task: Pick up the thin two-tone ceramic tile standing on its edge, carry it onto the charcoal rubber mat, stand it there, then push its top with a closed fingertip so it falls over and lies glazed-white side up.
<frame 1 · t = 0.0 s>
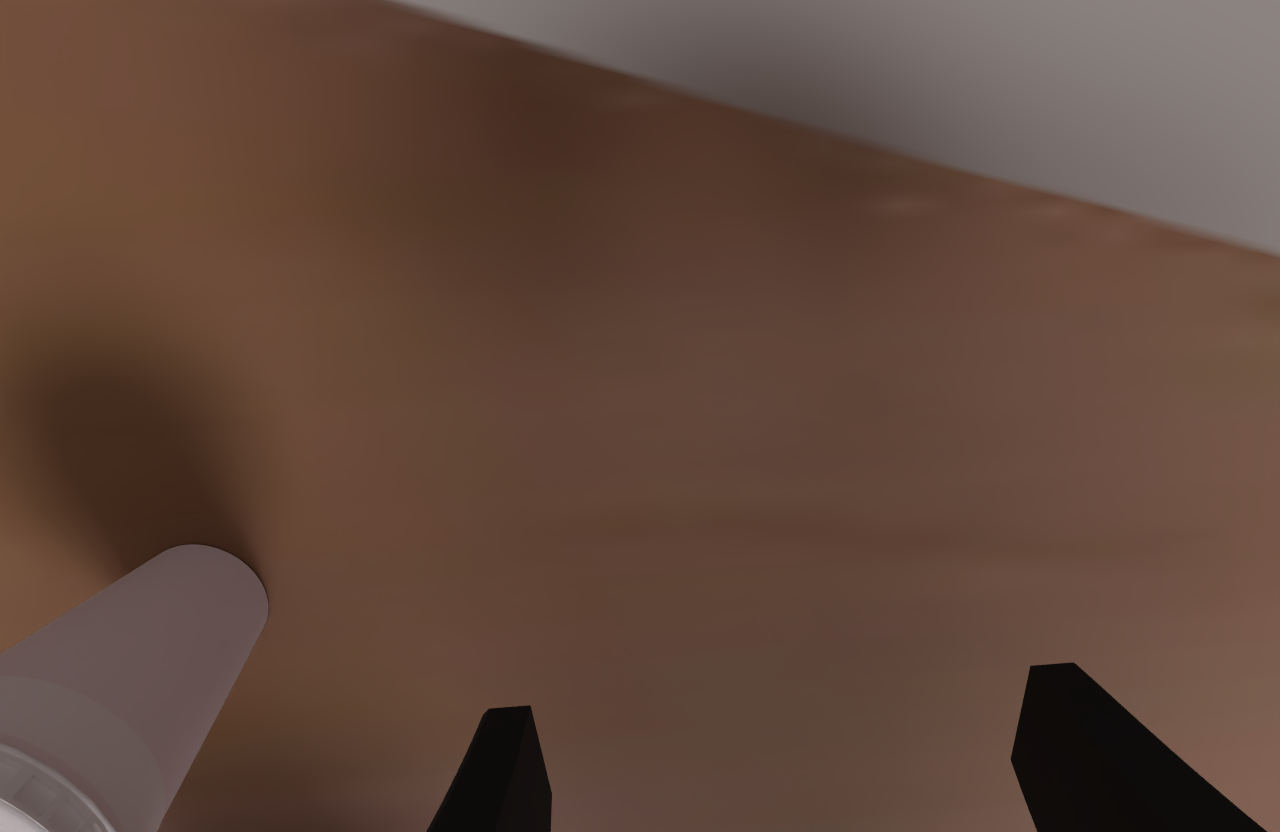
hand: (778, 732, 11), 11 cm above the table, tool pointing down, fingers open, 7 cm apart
smoothie: (208, 596, 23), on the table
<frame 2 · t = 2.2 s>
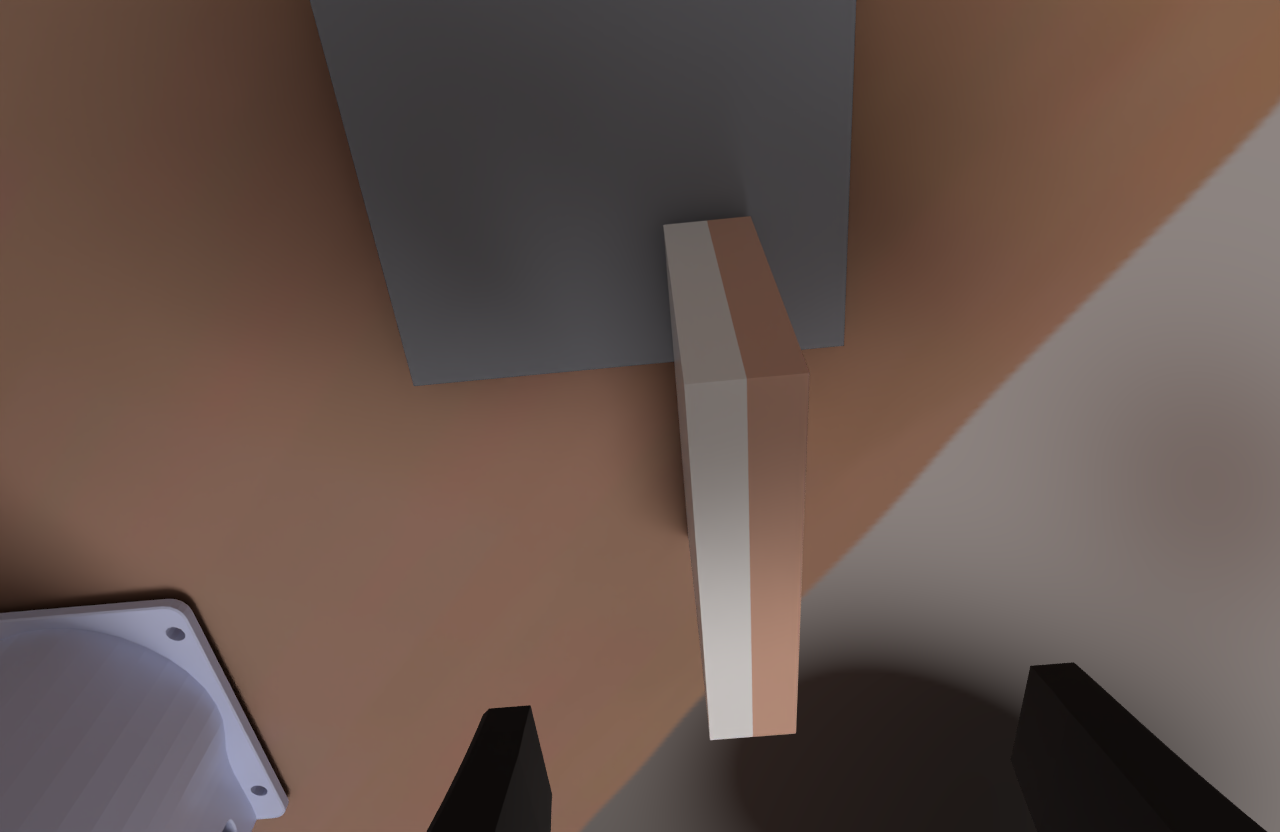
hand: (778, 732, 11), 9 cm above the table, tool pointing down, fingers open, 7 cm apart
tile: (715, 399, 19), on the table, tilted 6°, touching mat
mat: (595, 84, 16), on the table
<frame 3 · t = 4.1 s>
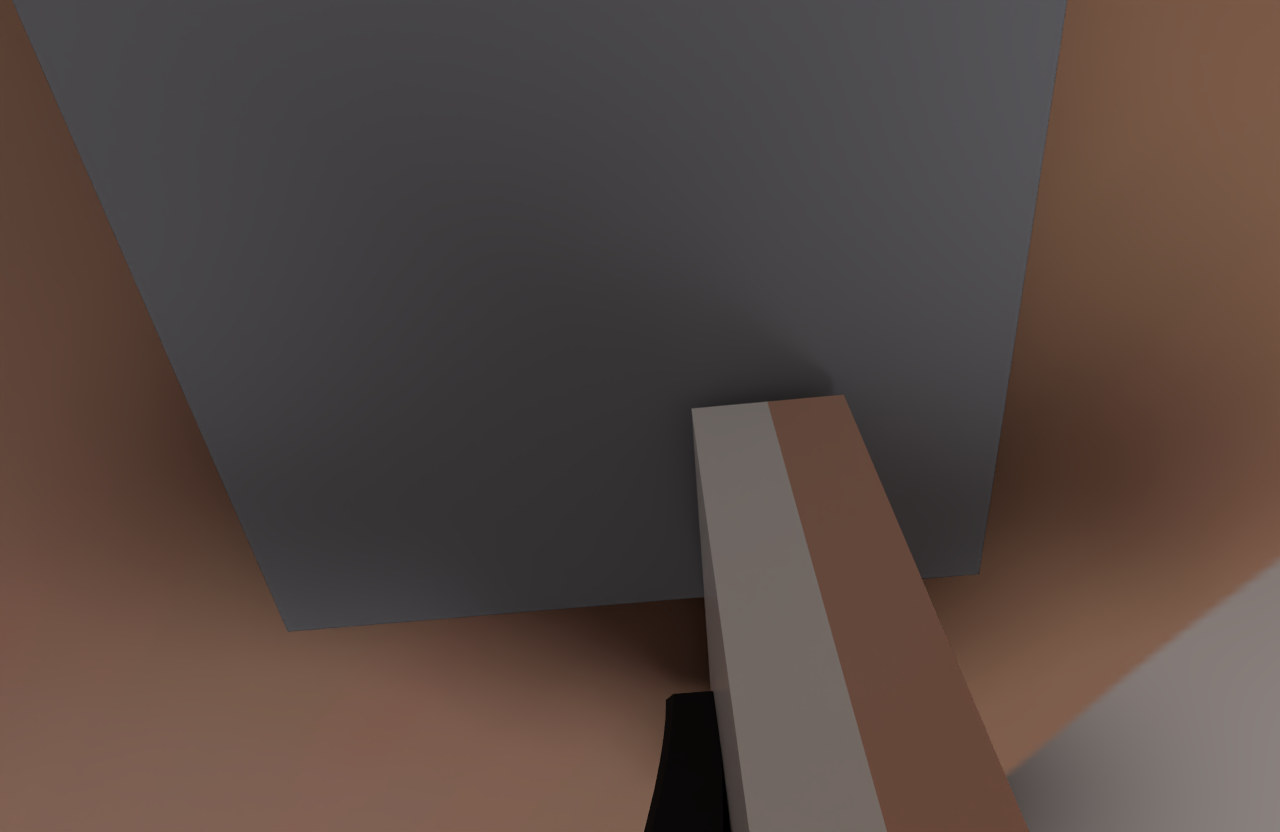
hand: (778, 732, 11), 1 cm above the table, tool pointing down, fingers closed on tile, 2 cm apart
tile: (767, 644, 12), on the table, tilted 6°, touching gripper, mat
mat: (572, 168, 9), on the table
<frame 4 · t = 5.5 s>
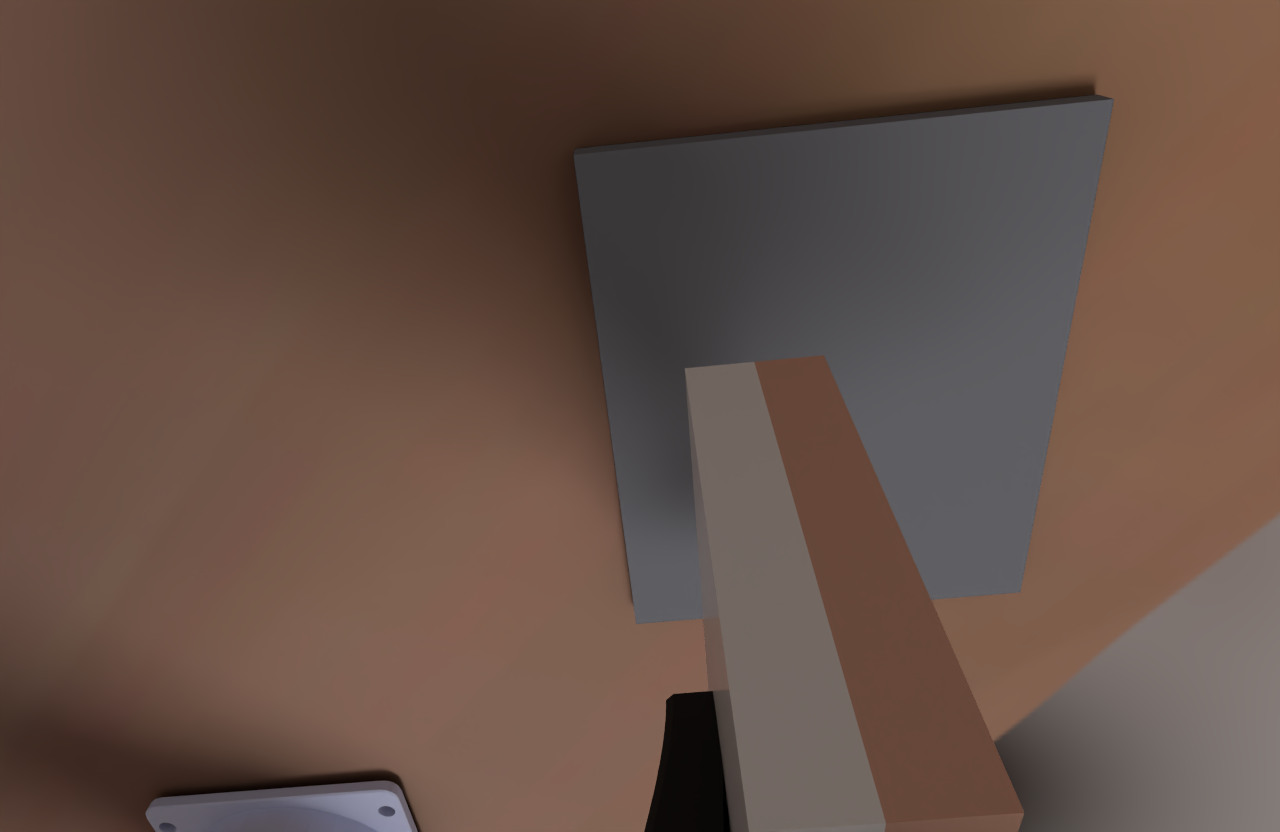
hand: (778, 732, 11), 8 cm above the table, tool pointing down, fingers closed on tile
tile: (757, 601, 13), point 6 cm above the table, touching gripper
mat: (826, 395, 18), on the table
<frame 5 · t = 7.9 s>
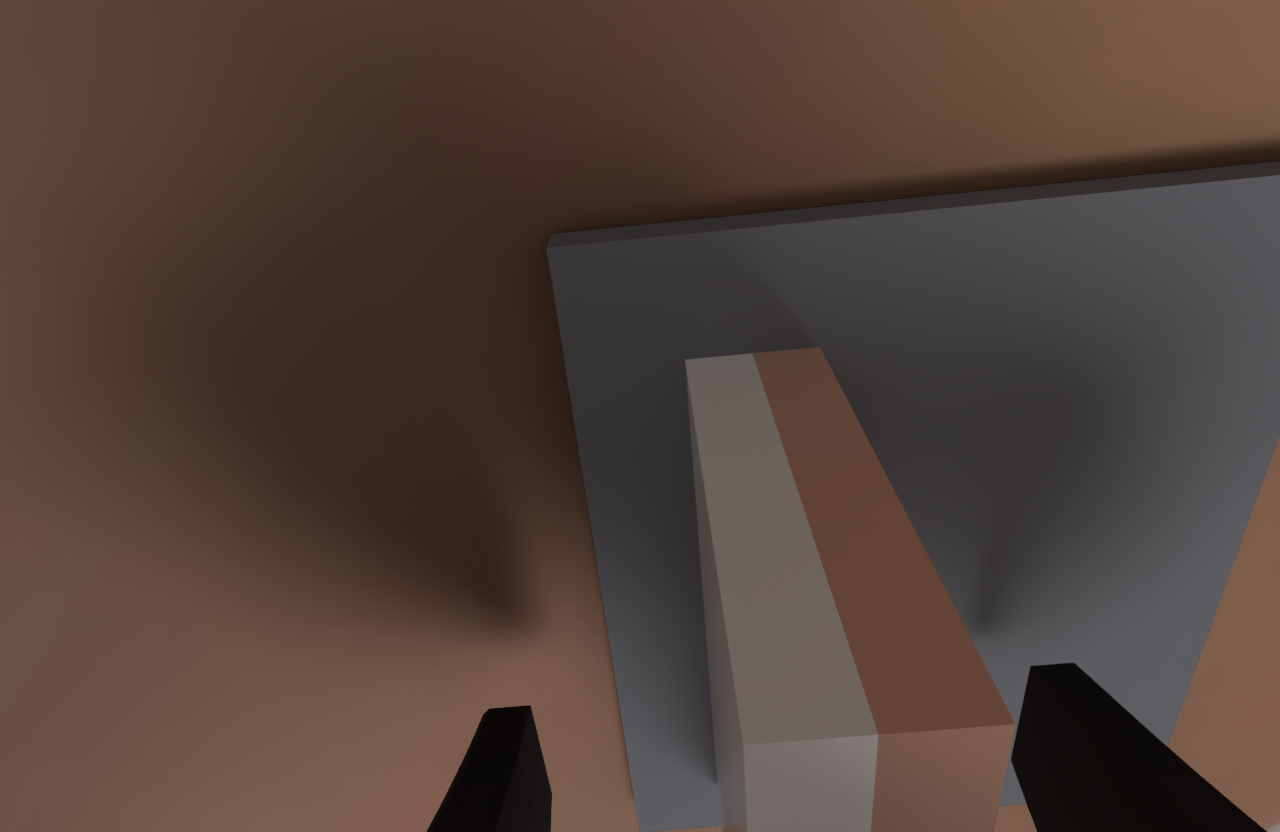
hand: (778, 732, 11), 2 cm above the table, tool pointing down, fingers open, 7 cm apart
tile: (759, 604, 13), point 1 cm above the table, touching mat
mat: (903, 558, 13), on the table
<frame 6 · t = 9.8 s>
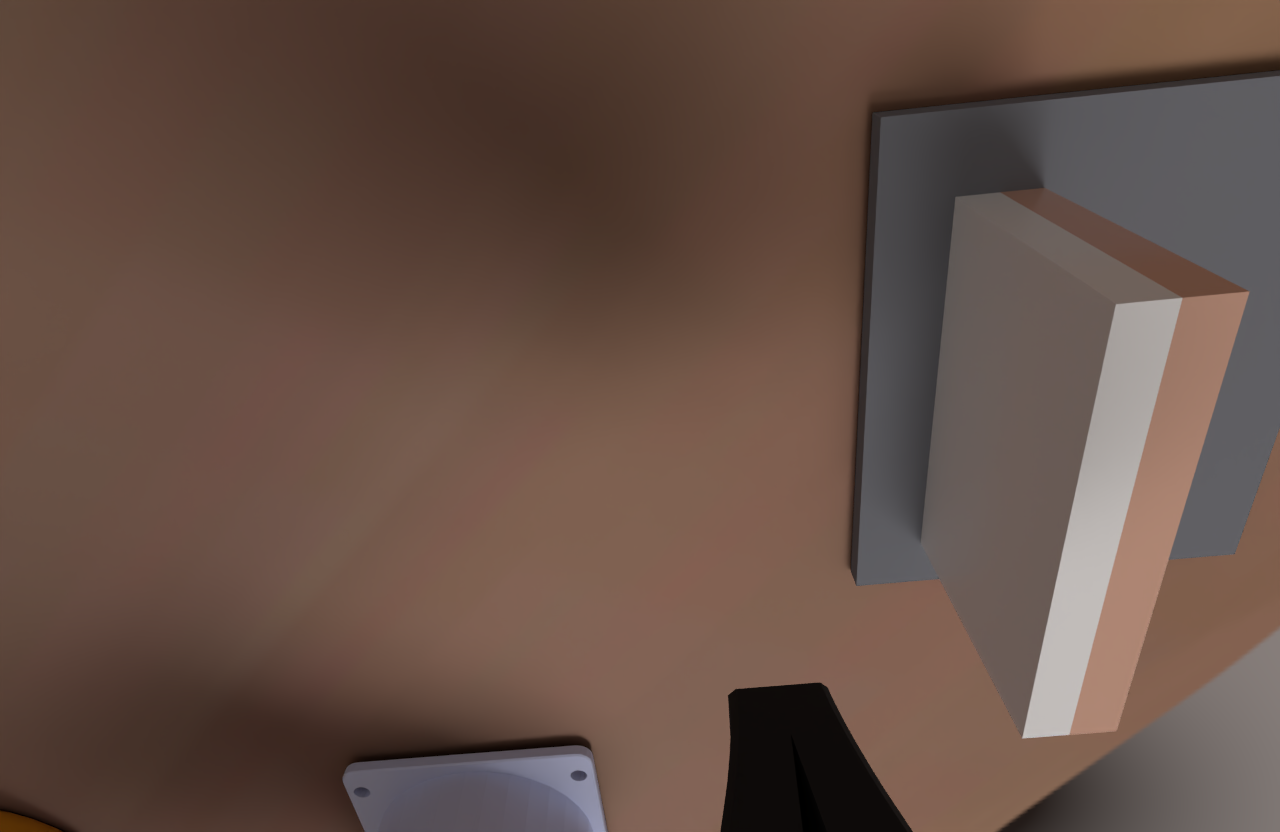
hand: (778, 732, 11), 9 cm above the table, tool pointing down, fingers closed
tile: (974, 387, 18), point 1 cm above the table, touching mat
mat: (1072, 358, 18), on the table
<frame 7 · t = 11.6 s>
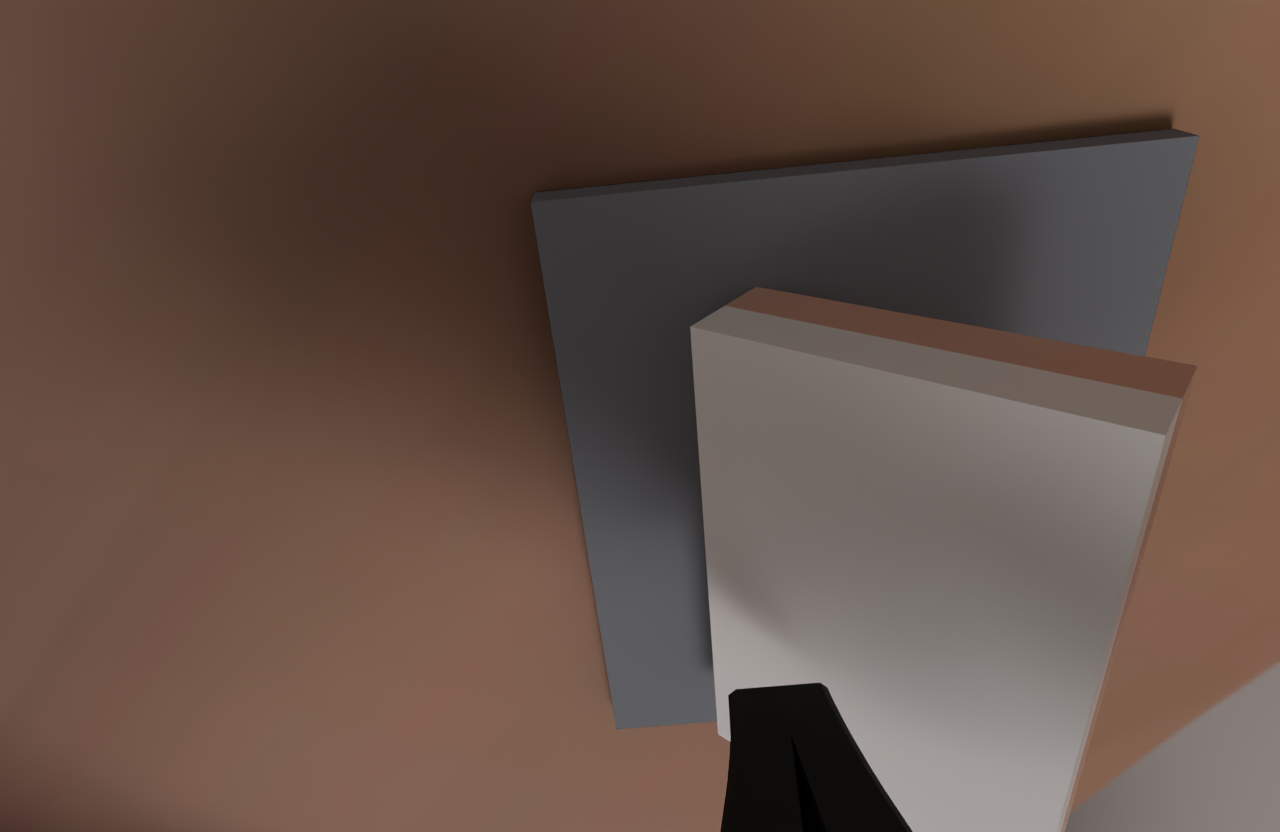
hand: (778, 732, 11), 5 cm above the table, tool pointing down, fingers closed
tile: (735, 536, 14), point 1 cm above the table, tilted 49°, touching mat
mat: (838, 477, 15), on the table
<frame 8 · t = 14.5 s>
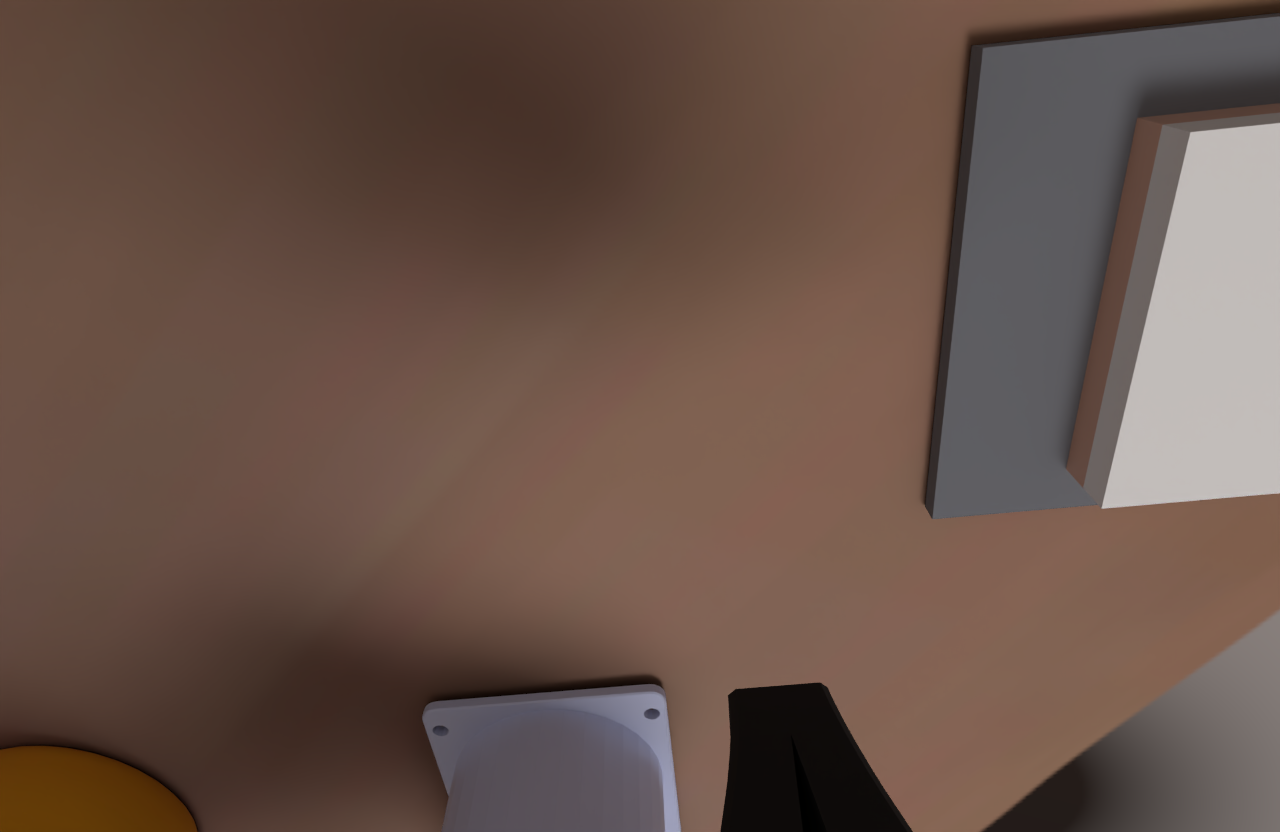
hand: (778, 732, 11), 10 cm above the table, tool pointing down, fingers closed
tile: (1117, 328, 18), point 1 cm above the table, tilted 90°, touching mat
beer bottle: (82, 815, 29), on the table
mat: (1149, 291, 19), on the table
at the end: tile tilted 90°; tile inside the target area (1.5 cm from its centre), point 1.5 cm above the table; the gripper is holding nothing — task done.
